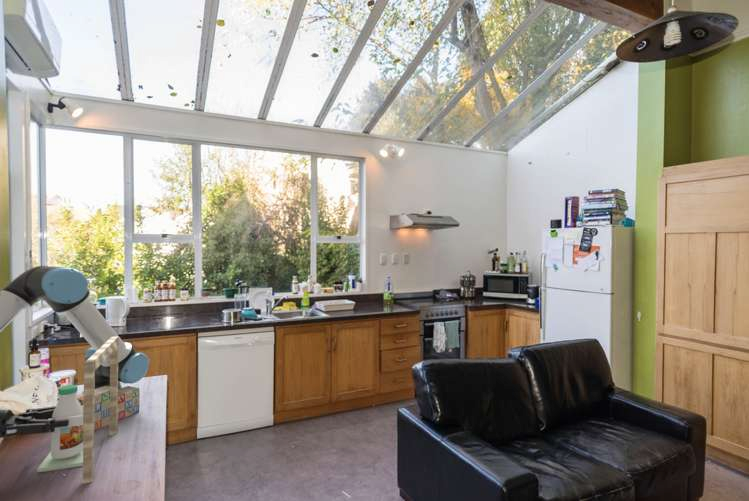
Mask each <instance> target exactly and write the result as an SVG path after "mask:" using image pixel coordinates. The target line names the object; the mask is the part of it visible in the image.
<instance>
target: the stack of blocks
mask: <svg viewBox="0 0 749 501" xmlns="http://www.w3.org/2000/svg"><path fill="white" fill-rule="evenodd" d="M82 393H83V392H82ZM82 393H79V394H76V396H77V399H78V401H79V403H80V405H81V406H84V393H83V394H82ZM109 409H110V386H103V387H100V388H97V389H95V396H94V431H96V430H98V429H101V428H103V427H106V426H109ZM139 412H140V387H134V386H129V385H126V386H124V387H122V388H121V389H118V417H117V422H118V421H120V420H122V419H124V418H127V417H129V416H132V415H134V414H136V413H139ZM83 423H84V415H83Z"/></svg>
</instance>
